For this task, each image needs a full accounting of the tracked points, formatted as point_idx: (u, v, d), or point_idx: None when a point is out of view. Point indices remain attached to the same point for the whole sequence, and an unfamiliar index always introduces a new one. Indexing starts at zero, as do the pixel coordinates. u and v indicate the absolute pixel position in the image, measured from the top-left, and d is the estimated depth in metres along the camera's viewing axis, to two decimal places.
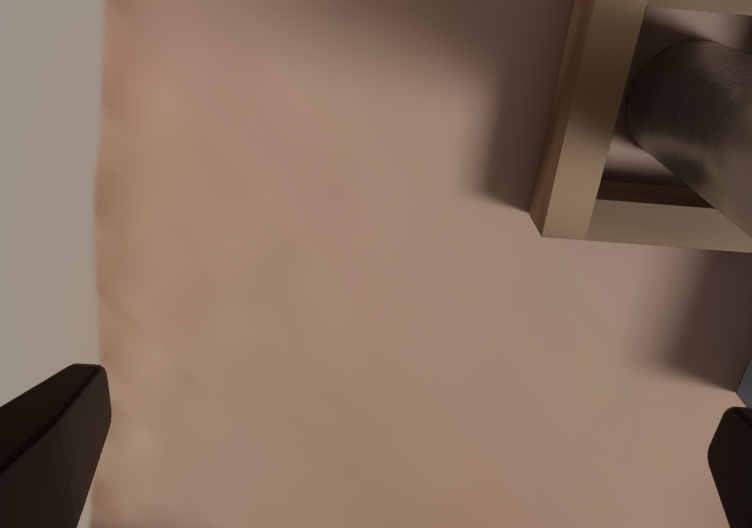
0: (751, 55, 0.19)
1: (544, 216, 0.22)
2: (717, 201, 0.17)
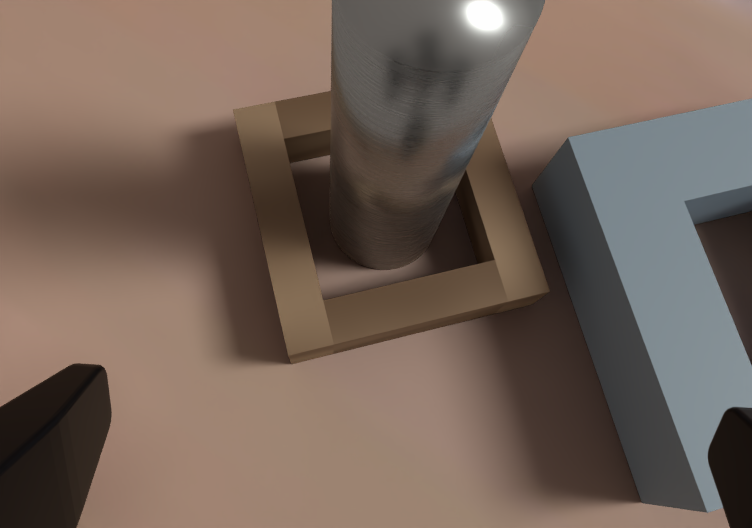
0: None
1: (284, 337, 0.21)
2: (356, 188, 0.18)
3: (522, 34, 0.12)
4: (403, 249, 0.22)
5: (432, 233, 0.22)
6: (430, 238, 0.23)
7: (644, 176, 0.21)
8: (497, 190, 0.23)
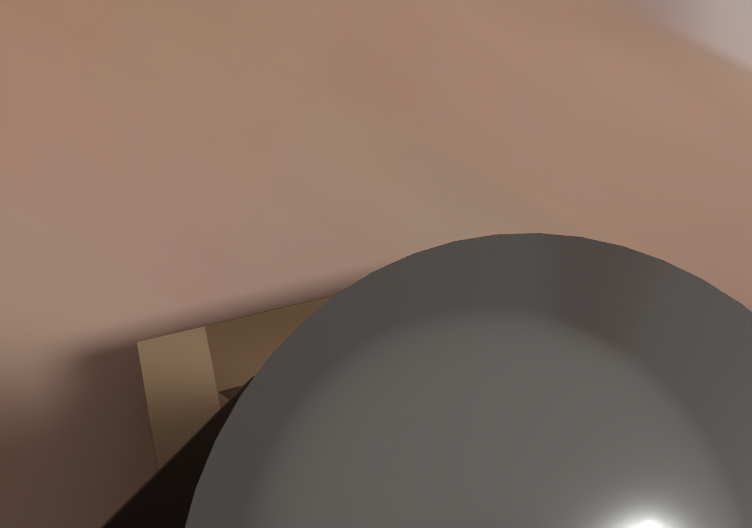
0: None
1: None
2: None
3: None
4: None
5: None
6: None
7: None
8: None
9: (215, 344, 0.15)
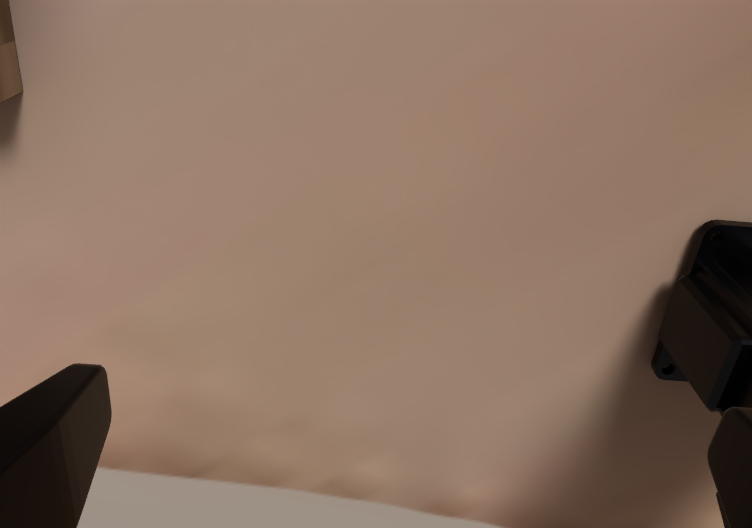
0: None
1: None
2: None
3: None
4: None
5: None
6: None
7: None
8: None
9: None
